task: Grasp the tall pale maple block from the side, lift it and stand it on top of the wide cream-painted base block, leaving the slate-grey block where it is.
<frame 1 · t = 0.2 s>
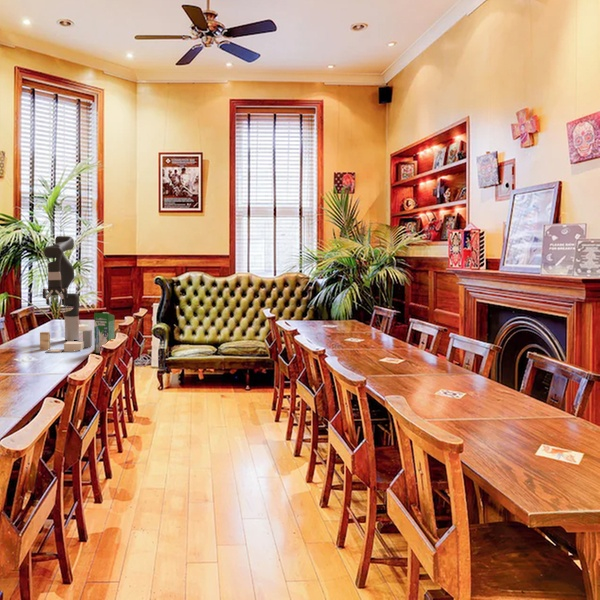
hand: (55, 305, 341), 29 cm above the table, tool pointing down, fingers open, 8 cm apart
milk carton: (104, 352, 344), on the table
maple block: (45, 349, 349), on the table
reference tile: (55, 351, 341), on the table
base block: (74, 350, 349), on the table
slate block: (87, 347, 361), on the table
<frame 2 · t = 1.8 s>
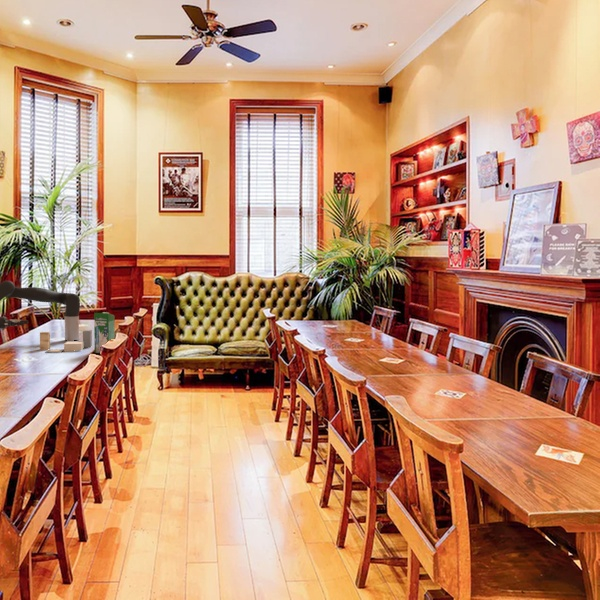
hand: (25, 322, 345), 17 cm above the table, tool horizontal, fingers open, 8 cm apart
nothing on the table moved.
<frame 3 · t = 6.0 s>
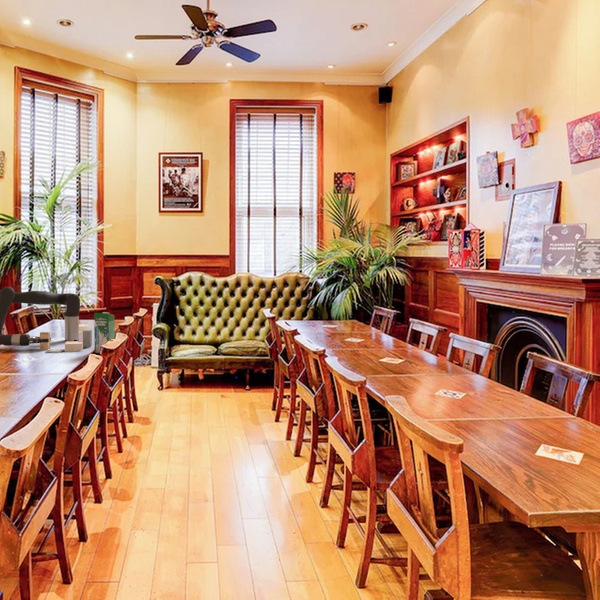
hand: (49, 339, 349), 6 cm above the table, tool horizontal, fingers closed on maple block, 4 cm apart
maple block: (45, 349, 349), on the table, touching gripper
everything else where it was.
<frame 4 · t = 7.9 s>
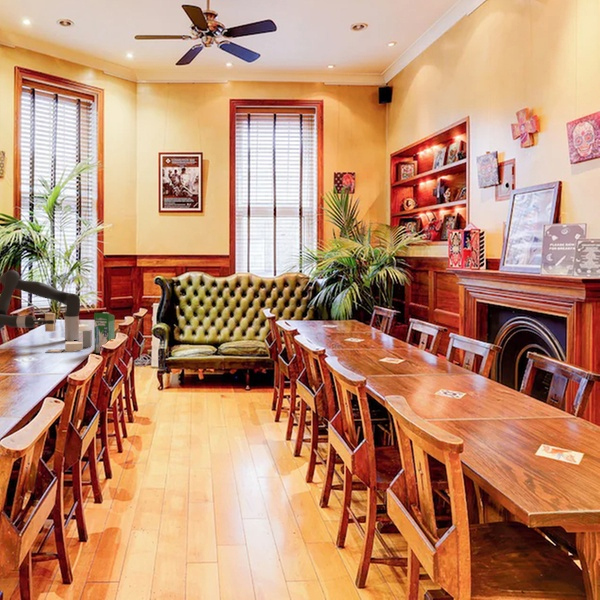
hand: (54, 321, 348), 18 cm above the table, tool horizontal, fingers closed on maple block, 4 cm apart
maple block: (50, 331, 348), point 12 cm above the table, touching gripper
everything else where it was.
when the fingers open (12 cm above the table, at t = 10.2 s): maple block drops 2 cm, resting on base block.
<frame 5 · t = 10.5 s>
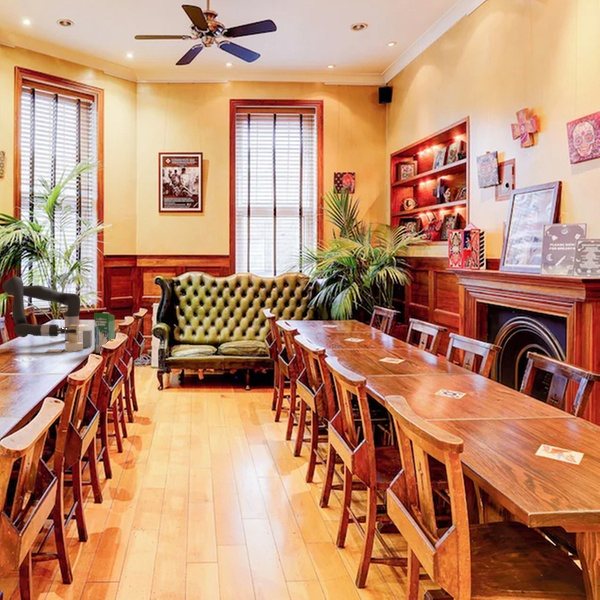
hand: (77, 330, 349), 13 cm above the table, tool horizontal, fingers open, 7 cm apart
maple block: (74, 342, 349), point 5 cm above the table, touching base block
base block: (74, 350, 349), on the table, touching maple block
everything else where it was.
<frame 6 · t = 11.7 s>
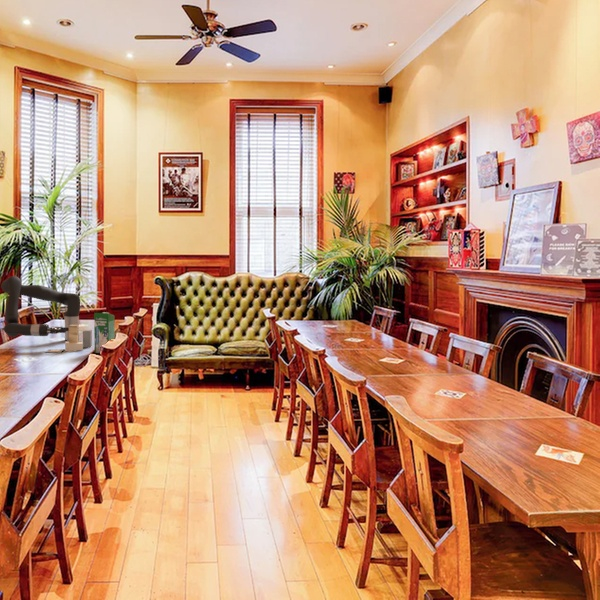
hand: (67, 330, 347), 13 cm above the table, tool horizontal, fingers open, 8 cm apart
nothing on the table moved.
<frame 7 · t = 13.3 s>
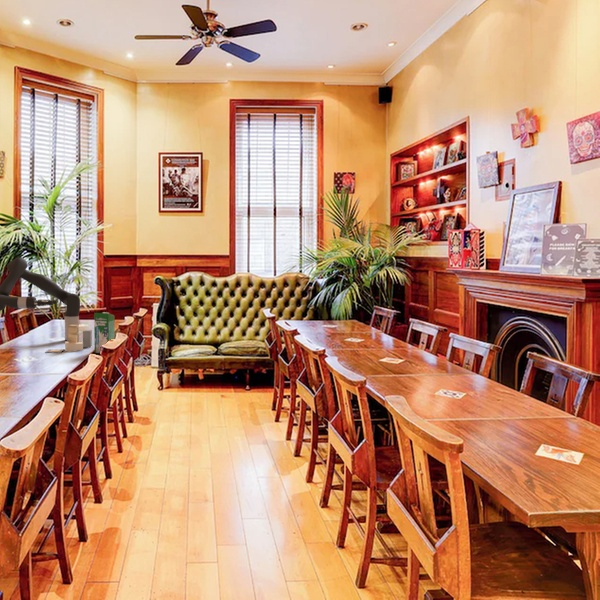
hand: (54, 302, 345), 30 cm above the table, tool horizontal, fingers open, 8 cm apart
maple block: (73, 342, 349), point 5 cm above the table
base block: (74, 350, 349), on the table
everything else where it was.
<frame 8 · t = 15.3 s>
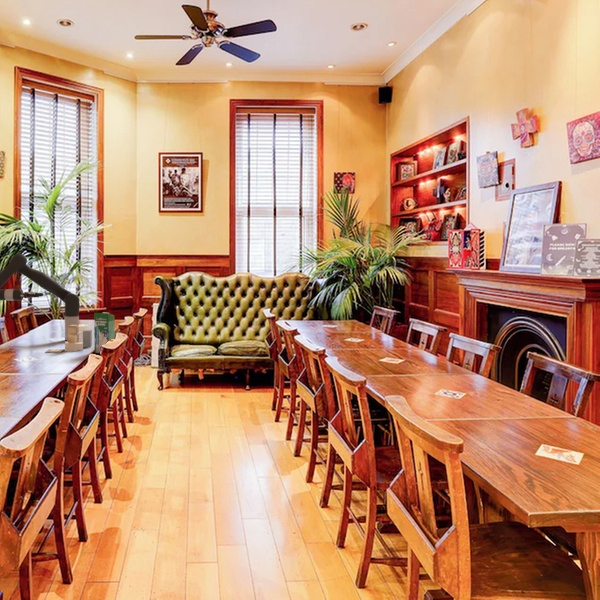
hand: (41, 295, 353), 34 cm above the table, tool horizontal, fingers open, 8 cm apart
maple block: (73, 342, 348), point 5 cm above the table, touching base block
base block: (74, 350, 349), on the table, touching maple block
everything else where it was.
at the end: maple block inside the target area on the base block (0.4 cm from its centre), point 5.1 cm above the base block's base; maple block tilted 1°; the gripper is holding nothing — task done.
